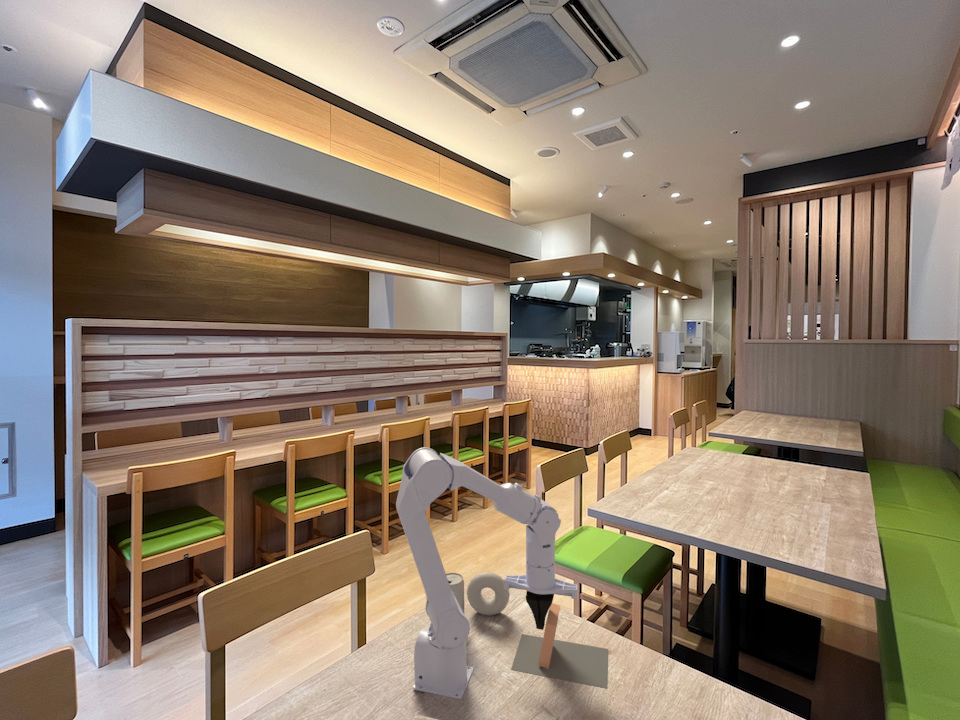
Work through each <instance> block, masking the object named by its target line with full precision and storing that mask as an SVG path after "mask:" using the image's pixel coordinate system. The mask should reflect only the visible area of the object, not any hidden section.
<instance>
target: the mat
mask: <svg viewBox="0 0 960 720" xmlns="http://www.w3.org/2000/svg"><path fill="white" fill-rule="evenodd" d="M542 643H543V637H541V636H536V635H530V634H524V633H521V635H520V639H519V642H518V645H517V649H516V652H515V655H514V657H513V662H512V666H511V668H510V670H511V671H515V672H520V673H525V674H530V675H536V676H541V677H547V678H551V679H556V680H562V681H567V682H571V683H576V684H577V683H578V684H582V685H586V686H592V687H595V688H602V689H608V676H609V675H608V674H609V673H608V672H609V671H608V669H609V666H608V665H609V648H605V647H599V646H595V645H594V646H593V645H588V644H583V643H576V642H570V641H564V640H558V639H554V644H553V649H552V654H551V660H550V665H549V669H546V668H544V667H541V666H539V660H540V654H541V649H542Z"/></svg>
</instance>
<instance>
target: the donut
mask: <svg viewBox="0 0 960 720" xmlns="http://www.w3.org/2000/svg"><path fill="white" fill-rule="evenodd" d="M485 588H486V589H487V588H488V589H491V590H492V591H493V593H494V597H493V598H491V599H490V598H489V599H487V598H485V597H483V594H482V590H484V589H485ZM466 596H467V597H466V598H467V601H468V603H469V605H470V607H471V608H472V609H473V610H474V611H476V612H477V613H478V614H480V615H483V616H487V617H488V616H489V617H490V616H497V614H501V612H503V611H504V610H505V609H506V608H507V606H508V604H509V601H510V589H504V579H503V577H502V576H500V575H499V574H497V573H495V572H491V571H483V572H480V573H478V574H475V575H474V576H473V577H471V579H470V580H469V583H468V585H467V589H466Z"/></svg>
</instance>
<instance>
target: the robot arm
mask: <svg viewBox="0 0 960 720" xmlns="http://www.w3.org/2000/svg"><path fill="white" fill-rule="evenodd" d="M439 455H440V456H439ZM401 473H402V476H401V481H400V485H399V489H398V492H397V496H396V497H397V498H396V502H395V508H396V511H397V514H398V517H399V520H400V523H401V526H402V528H403V531H404V534H405V537H406V540H407V543H408V546H409V548H410V551H411V554H412V558H413V561H414V563H415V565H416V570H417V572H418V574H419V579H420V580H421V584H422V586H423V589H424V593H425V597H426V602H425V612H426V614H427V617H428V618H429V621H430V625H429V628H422V629H420V631H419V633H418V636H417V638H416V640H415V645H414V652H413V653H414V654H413V657H414V658H413V660H414V661H413V663H414V667H413V668H414V670H413V671H414V684H413V685H412V689H413V690H414V691H418V692H422V693H430V694H435V695H438V696H443V697H448V698H451V699H452V698H453V699H458V700H461V699H462V698H463V696H464V694H465V692H466V689H467V687H468V684H469V682H470V679H471V677H472V675H473V672H474V669H475V668H474V667H473V666H469V665H467V663H468V661H467V655H468V654H467V653H468V652H467V638H468V636H469V634H470V632H471V631H470V630H471V626H470V625H471V624H470V621H469V619H468V618H467V616H466V615H465V612H464V613H463V611H462V609H461V607H460V605H459V603H458V601H457V598H456V596H455V594H454V593H453V592H452V590H451V588H450V585H449V582H448V579H447V576H446V574H447V573H446V571H445V567H444V564H443V561H442V558H441V555H440V553H439V549H438V547H437V544H436V541H435V538H434V535H433V532H432V528H431V526H430V522H429V520H428V517H427V514H426V512H427V510H428V508H429V506H431V504H432V503H433V502H434V501H436V499H438V498H439V497H440V496H441V495H442V494H443V493H444V492H445V491H446V490H447V489H449V490H450V491H454V490H456V489H458V488H460V487H463V488H466V489H467V490H470V491H472V492H474V493H476V494H478V495H480V496H483V497H485V498H487V499H489V500H490V501H492V502H493V507H494V509H495V511H497V512H499V513H501V514H502V515H503V514H504V515H505V516H507V517H509V518H510V519H513V520H514V521H516V522H518V523H519V524H520V523H521V524H523V525H525V574H521V575H510V574H509V575H508V574H507V575H505V577H504V579H503V580H504V589H509V590H510V589H517V590H521V591H522V590H523V591H526V595H525V600H526V603H527V604H528V607H529V608H530V611H531V613H532V616H533V619H534V623H535V627H536V629H537V630H541V631H543V630H545V626H546V619H547V618H546V617H547V616H548V613H549V608H550V606H551V604H552V603H553V602H554V597H555V595H557V596H564V597H571V599H573V600H577V599H578V595H579V594H578V593H579V592H578V591H579V589H578V588H579V585H578V584H575V583H570V582H567V581H565V580H562V579H558V578H556V533H557V532H558V531H559V528H560V526H561V523H562V520H561V519H560V517H559V513H558V511H557V510H556V509H555V508H554V507H552V505H550V504H549V503H547V502H546V501H545V500H543V499H542V497H541V496H539V495H538V494H534V495H532V494H531V493H529V492H528V491H526V490H524V489H523V488H524V487H523V486H522V485H521V484H519V483H517V482H515V483H514V484H513V483H512V482H505V483H502V484H499V483H497V482H495V481H494V480H493V479H491V478H488V477H487V476H485V475H484V474H482V473H480V472H479V471H477V470H475V469H474V468H472V467H470V466H469V465H467V464H466V463H463V462H462V461H460V460H457V459H456V458H454V457H452V456H450V455H447V454H445V453H442V452H440V453H439V454H438V452H437V451H436V450H435V449H433V448H430V447H420V448H417V449H415V450H414V451H413V452H412V453H411V454H410V456H409V457H408V458H407V460H406V462H404V465H402V472H401Z"/></svg>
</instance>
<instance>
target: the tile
mask: <svg viewBox="0 0 960 720" xmlns="http://www.w3.org/2000/svg"><path fill="white" fill-rule="evenodd" d="M560 611H561V605H560V604H557V603H553V602H552V604H551V606H550V608H549V610H548V612H547V616H546V617H547V618H546V620H545V625H544V631H543V633H544V634H543V637H542V638H543V643H542V649H541V654H540V660H539V666H541V667H544V668H546V669H549V665H550V660H551V654H552V649H553V644H554V640H555V637H556V632H557V626H558V621H559V615H560Z"/></svg>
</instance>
